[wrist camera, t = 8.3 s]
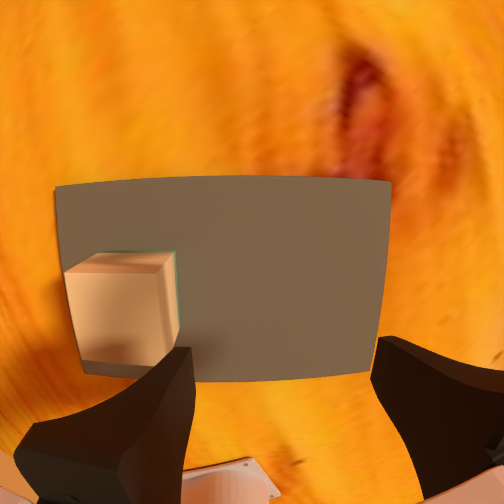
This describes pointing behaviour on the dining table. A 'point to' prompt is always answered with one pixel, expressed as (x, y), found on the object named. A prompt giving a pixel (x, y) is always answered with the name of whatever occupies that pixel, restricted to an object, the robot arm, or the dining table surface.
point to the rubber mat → (248, 266)
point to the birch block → (125, 306)
